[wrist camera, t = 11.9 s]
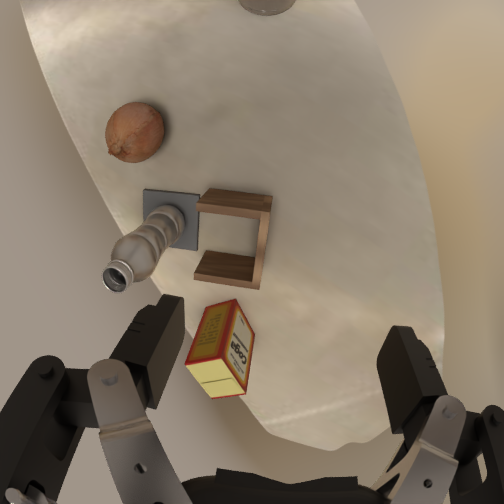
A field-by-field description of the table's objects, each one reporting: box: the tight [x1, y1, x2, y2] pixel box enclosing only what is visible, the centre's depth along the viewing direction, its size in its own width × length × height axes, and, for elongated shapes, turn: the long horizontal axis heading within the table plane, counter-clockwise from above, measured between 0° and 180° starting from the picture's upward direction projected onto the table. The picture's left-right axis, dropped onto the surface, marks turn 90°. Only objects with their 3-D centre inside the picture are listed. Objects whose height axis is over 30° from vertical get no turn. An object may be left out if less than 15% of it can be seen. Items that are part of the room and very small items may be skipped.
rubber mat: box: [143, 189, 200, 251], centre depth 51 cm, size 10×10×1 cm
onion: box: [105, 102, 164, 163], centre depth 41 cm, size 10×9×10 cm
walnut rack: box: [194, 189, 273, 290], centre depth 47 cm, size 12×10×8 cm
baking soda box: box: [185, 299, 255, 399], centre depth 52 cm, size 10×6×16 cm
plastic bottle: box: [102, 205, 185, 293], centre depth 41 cm, size 6×7×20 cm
